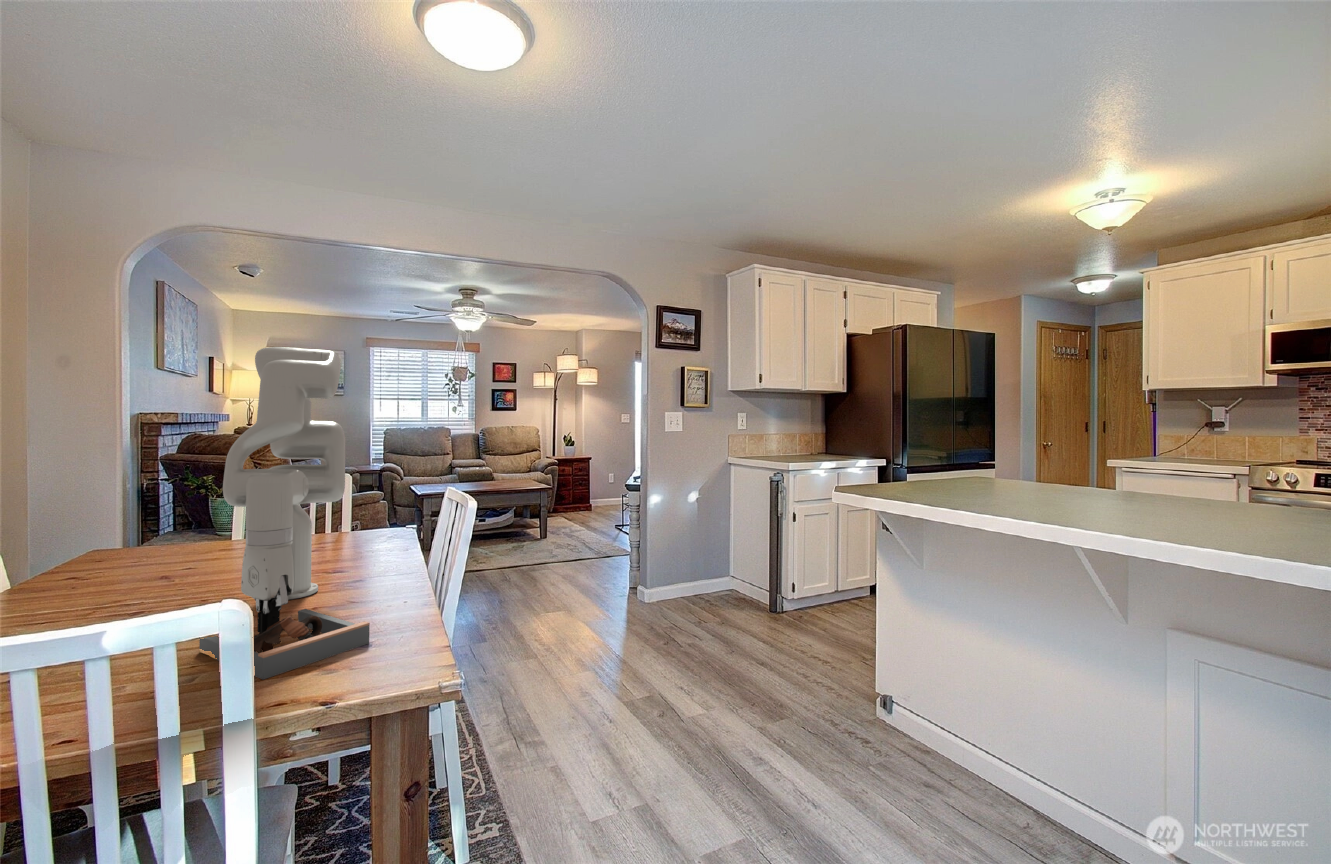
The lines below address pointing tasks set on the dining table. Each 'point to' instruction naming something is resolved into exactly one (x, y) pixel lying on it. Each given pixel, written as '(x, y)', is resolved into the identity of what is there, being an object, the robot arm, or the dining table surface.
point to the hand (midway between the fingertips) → (268, 631)
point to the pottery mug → (291, 628)
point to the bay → (304, 645)
